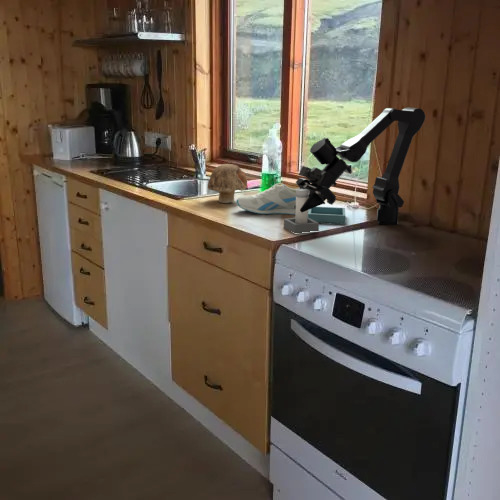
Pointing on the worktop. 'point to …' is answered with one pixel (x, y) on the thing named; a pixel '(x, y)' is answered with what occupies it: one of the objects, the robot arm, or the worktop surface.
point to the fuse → (300, 200)
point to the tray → (327, 215)
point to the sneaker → (271, 201)
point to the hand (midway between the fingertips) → (297, 209)
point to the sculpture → (227, 181)
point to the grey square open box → (301, 225)
